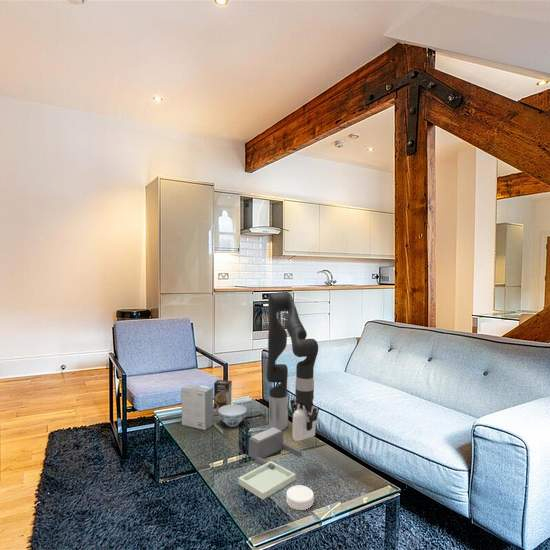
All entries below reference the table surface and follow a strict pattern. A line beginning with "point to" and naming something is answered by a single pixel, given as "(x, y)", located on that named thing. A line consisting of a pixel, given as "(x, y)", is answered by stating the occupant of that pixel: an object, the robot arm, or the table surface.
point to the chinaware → (232, 414)
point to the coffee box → (222, 393)
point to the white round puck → (300, 497)
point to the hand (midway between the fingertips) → (304, 427)
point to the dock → (268, 445)
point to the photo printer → (301, 426)
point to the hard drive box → (197, 406)
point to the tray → (266, 480)
